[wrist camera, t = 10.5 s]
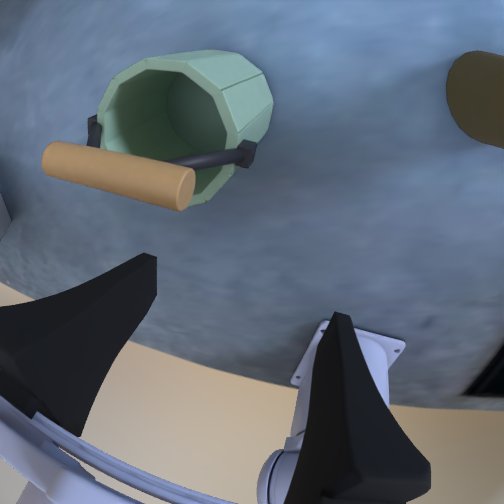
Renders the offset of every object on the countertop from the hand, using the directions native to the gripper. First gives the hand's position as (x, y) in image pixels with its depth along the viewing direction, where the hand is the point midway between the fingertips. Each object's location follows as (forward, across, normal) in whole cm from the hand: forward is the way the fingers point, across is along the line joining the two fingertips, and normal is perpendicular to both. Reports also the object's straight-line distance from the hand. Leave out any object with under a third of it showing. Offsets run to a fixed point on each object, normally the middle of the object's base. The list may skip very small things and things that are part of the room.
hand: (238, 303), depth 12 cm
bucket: (+10, +5, -5) cm, 12 cm away
